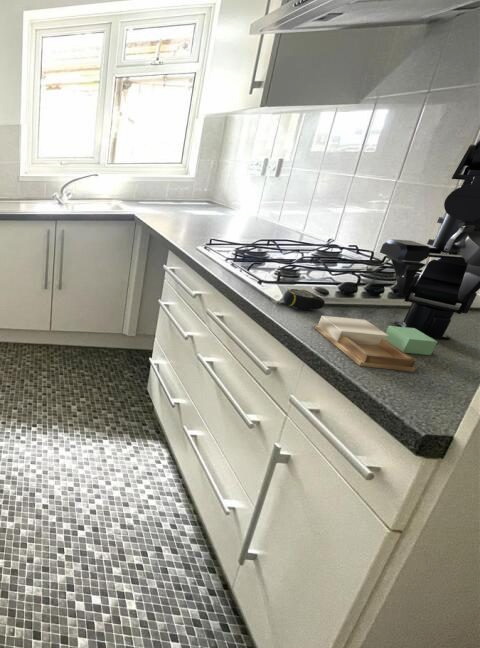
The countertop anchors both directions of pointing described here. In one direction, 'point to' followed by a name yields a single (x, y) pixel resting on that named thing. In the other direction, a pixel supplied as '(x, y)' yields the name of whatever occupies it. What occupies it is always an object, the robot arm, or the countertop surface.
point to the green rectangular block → (410, 340)
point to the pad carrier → (364, 343)
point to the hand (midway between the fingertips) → (430, 297)
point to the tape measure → (303, 299)
